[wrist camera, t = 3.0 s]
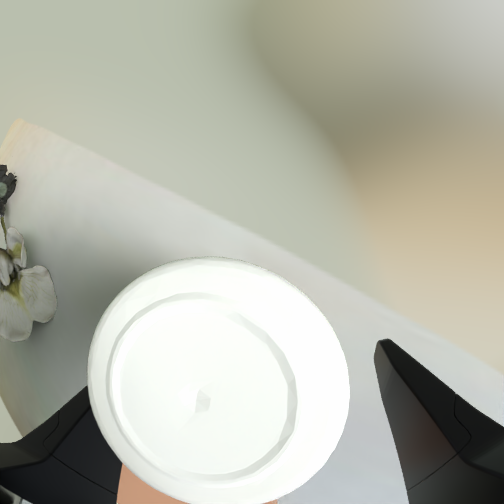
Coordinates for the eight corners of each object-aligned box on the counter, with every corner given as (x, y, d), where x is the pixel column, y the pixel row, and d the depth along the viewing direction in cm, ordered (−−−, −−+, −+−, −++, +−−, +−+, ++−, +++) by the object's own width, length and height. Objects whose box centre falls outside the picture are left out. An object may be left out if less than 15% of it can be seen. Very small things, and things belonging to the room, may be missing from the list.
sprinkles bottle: (216, 338, 17) (51, 317, 4) (281, 306, 17) (262, 197, 4) (249, 401, 15) (151, 529, 3) (315, 369, 15) (401, 450, 3)
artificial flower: (35, 173, 27) (6, 124, 18) (85, 320, 23) (31, 295, 14) (-9, 207, 24) (-44, 167, 15) (28, 359, 19) (-32, 349, 10)
